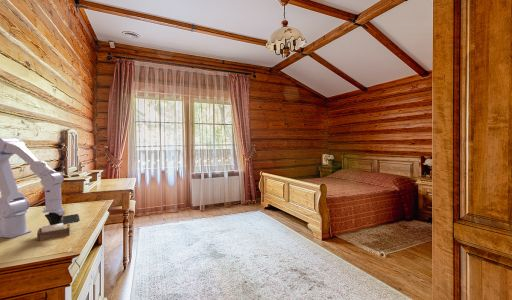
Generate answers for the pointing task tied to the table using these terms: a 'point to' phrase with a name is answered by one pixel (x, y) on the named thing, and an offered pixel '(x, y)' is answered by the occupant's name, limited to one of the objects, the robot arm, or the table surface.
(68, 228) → the roll holder
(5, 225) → the robot arm
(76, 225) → the table surface
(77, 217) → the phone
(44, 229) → the paper roll
